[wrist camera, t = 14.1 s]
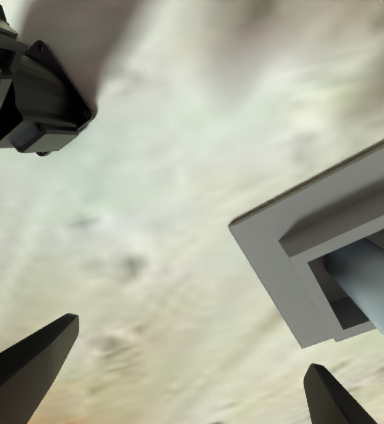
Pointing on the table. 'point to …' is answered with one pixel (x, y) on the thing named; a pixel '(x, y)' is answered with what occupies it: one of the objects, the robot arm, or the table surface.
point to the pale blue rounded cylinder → (360, 276)
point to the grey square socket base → (316, 247)
